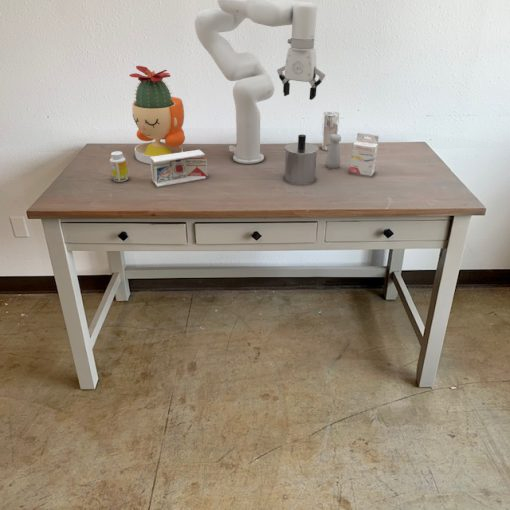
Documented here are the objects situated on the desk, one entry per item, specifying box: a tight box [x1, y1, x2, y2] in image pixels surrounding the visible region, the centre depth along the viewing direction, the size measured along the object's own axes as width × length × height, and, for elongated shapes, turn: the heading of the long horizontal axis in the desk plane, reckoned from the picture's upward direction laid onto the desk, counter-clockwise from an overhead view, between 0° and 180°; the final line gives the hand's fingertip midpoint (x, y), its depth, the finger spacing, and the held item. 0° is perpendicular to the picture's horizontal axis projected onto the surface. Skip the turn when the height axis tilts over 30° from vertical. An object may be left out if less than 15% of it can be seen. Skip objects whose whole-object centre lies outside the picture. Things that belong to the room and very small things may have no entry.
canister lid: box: [284, 134, 319, 155], centre depth 171 cm, size 12×12×6 cm
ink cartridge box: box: [349, 132, 380, 177], centre depth 180 cm, size 9×5×15 cm, turn 65°
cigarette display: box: [150, 149, 208, 188], centre depth 176 cm, size 20×6×9 cm, turn 115°
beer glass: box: [321, 111, 340, 152], centre depth 205 cm, size 7×7×15 cm
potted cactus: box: [129, 65, 186, 165], centre depth 192 cm, size 22×22×35 cm
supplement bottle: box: [109, 150, 129, 183], centre depth 175 cm, size 6×6×10 cm
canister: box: [284, 151, 318, 185], centre depth 176 cm, size 11×11×12 cm
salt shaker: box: [325, 133, 342, 169], centre depth 186 cm, size 6×6×13 cm
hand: (299, 97), depth 169 cm, fingers open, 9 cm apart
